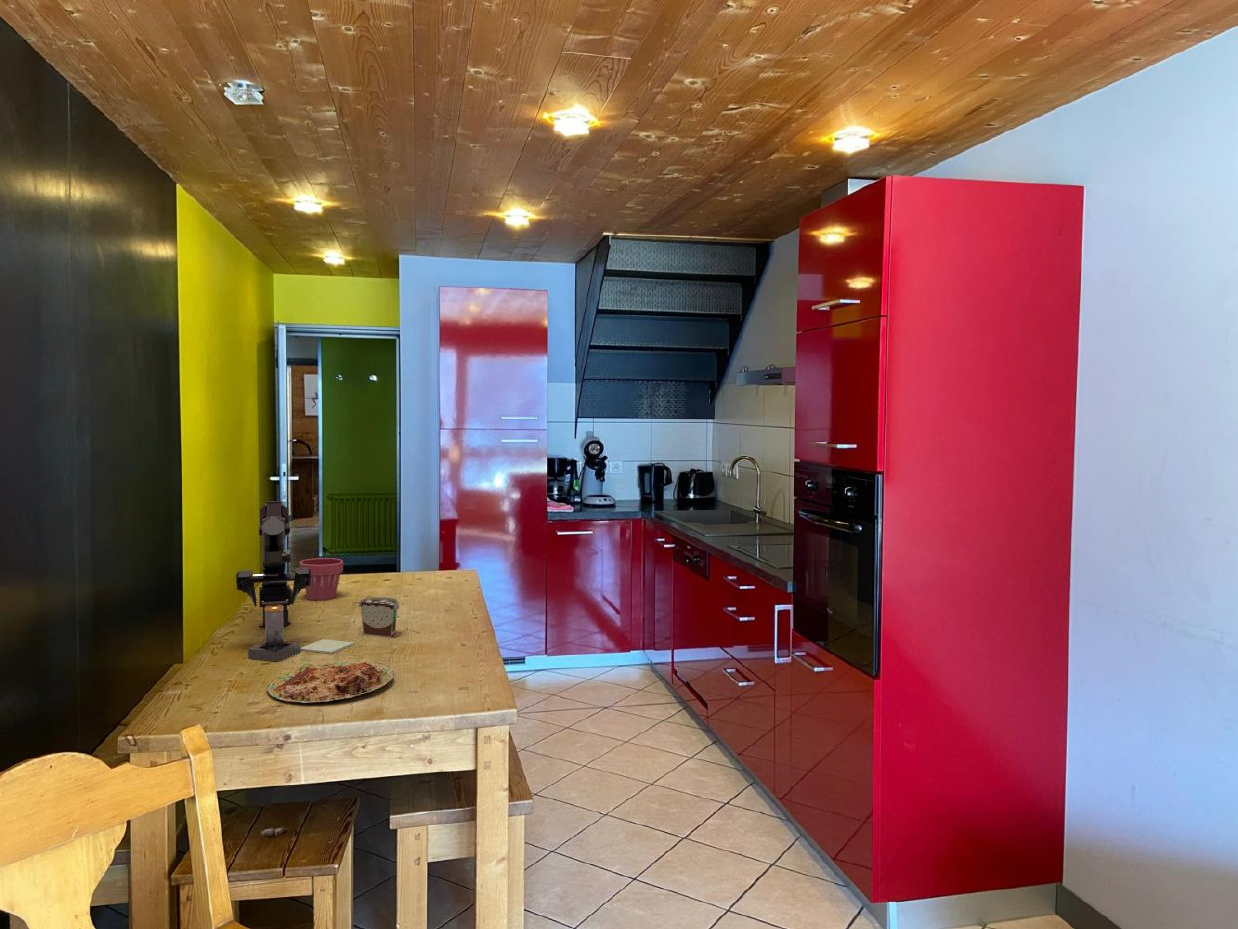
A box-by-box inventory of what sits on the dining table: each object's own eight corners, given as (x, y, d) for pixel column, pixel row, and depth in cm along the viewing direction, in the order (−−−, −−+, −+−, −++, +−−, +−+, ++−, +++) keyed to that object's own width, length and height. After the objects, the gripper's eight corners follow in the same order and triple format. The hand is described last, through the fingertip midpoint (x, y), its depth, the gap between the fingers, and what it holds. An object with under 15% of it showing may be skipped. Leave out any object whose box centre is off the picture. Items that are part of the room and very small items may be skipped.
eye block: (248, 658, 220) (248, 649, 219) (272, 649, 228) (272, 640, 228) (277, 661, 217) (277, 652, 217) (300, 652, 226) (300, 643, 225)
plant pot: (352, 597, 294) (352, 560, 293) (318, 604, 282) (318, 566, 282) (324, 592, 302) (324, 556, 301) (290, 599, 290) (290, 561, 289)
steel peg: (261, 657, 221) (260, 607, 220) (273, 652, 225) (272, 603, 225) (276, 658, 220) (275, 608, 219) (287, 654, 224) (287, 605, 223)
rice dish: (268, 718, 181) (268, 694, 180) (265, 676, 206) (265, 654, 205) (403, 702, 192) (403, 679, 191) (384, 664, 217) (384, 643, 217)
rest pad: (299, 650, 227) (299, 648, 227) (322, 641, 237) (322, 639, 237) (331, 654, 224) (331, 651, 224) (354, 644, 234) (354, 642, 234)
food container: (408, 633, 247) (408, 598, 246) (395, 638, 241) (395, 603, 241) (371, 629, 251) (371, 595, 250) (359, 634, 245) (358, 599, 245)
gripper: (236, 541, 228) (234, 590, 219) (310, 538, 235) (312, 585, 225) (237, 565, 236) (236, 613, 226) (309, 562, 243) (311, 608, 233)
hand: (274, 604), depth 228 cm, fingers open, 9 cm apart
